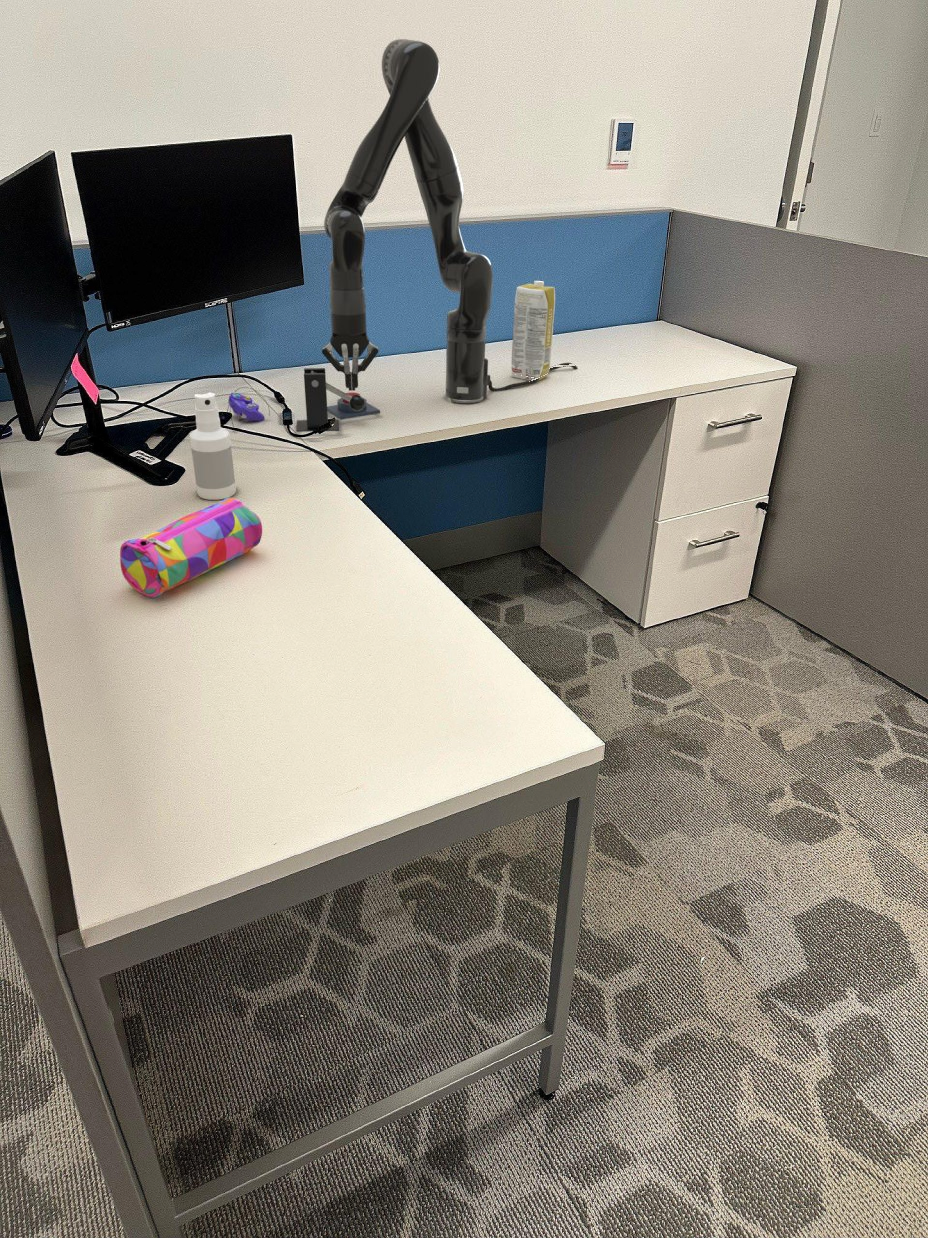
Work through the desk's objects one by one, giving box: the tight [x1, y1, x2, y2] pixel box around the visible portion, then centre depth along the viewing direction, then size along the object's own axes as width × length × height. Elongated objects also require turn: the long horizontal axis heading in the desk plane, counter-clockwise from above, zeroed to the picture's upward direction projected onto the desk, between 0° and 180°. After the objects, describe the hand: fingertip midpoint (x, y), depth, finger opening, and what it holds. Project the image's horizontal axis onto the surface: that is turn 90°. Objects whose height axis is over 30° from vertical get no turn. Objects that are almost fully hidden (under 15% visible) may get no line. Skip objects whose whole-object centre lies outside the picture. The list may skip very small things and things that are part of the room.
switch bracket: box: [295, 367, 340, 433], centre depth 185 cm, size 9×7×13 cm
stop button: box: [344, 391, 361, 403], centre depth 196 cm, size 4×4×2 cm
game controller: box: [221, 386, 271, 428], centre depth 191 cm, size 10×8×10 cm
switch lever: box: [311, 371, 365, 411], centre depth 185 cm, size 13×3×3 cm
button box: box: [327, 397, 381, 421], centre depth 197 cm, size 10×8×4 cm
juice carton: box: [510, 280, 556, 382], centre depth 224 cm, size 9×8×24 cm
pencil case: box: [119, 497, 263, 598], centre depth 129 cm, size 22×9×9 cm, turn 148°
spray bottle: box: [189, 392, 237, 501], centre depth 153 cm, size 7×7×18 cm
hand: (352, 389), depth 195 cm, fingers closed
